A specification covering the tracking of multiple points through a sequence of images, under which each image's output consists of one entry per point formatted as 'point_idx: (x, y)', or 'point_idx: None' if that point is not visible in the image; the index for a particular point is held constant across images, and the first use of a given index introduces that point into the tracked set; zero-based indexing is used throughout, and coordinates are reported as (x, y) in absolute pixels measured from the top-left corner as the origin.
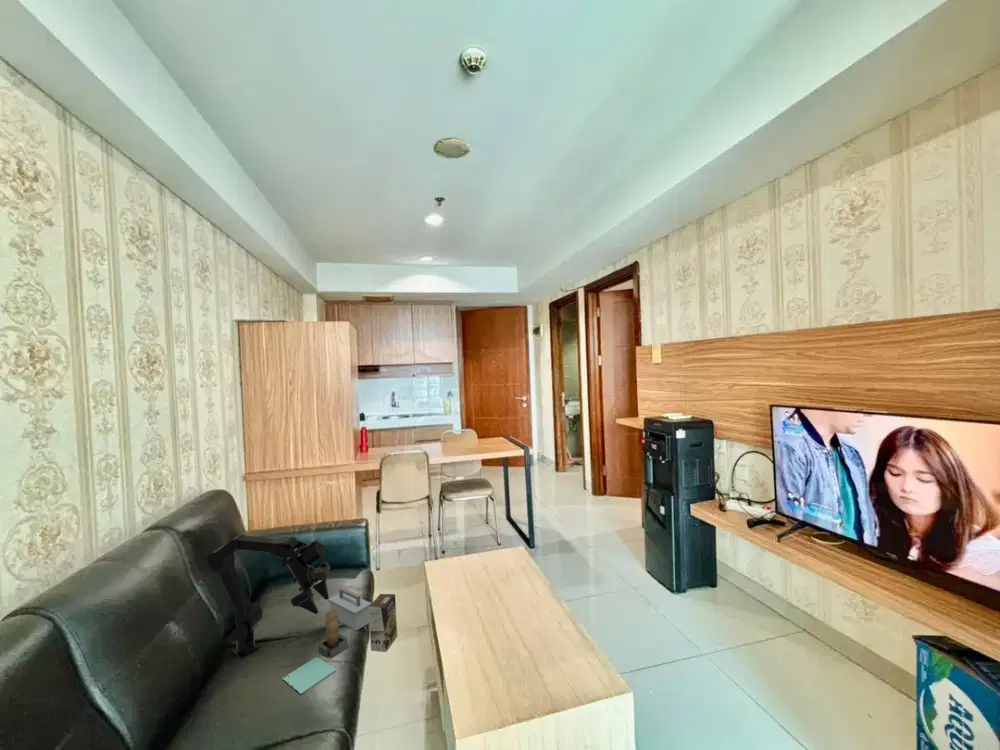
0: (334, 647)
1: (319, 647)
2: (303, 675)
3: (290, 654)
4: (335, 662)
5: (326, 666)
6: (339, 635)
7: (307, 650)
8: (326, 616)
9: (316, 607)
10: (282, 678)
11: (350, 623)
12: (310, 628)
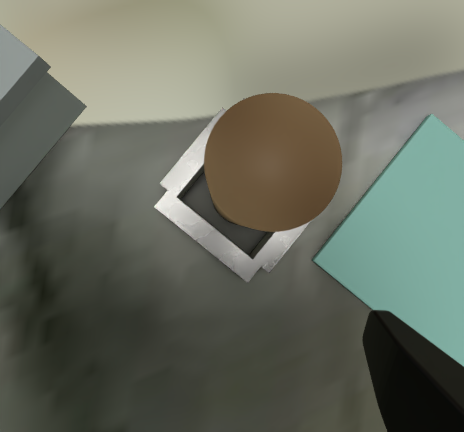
0: None
1: (274, 263)
2: (452, 273)
3: (258, 427)
4: (358, 142)
5: (399, 174)
6: (183, 169)
7: (236, 342)
8: (328, 202)
9: (417, 359)
10: None
11: (35, 147)
12: (17, 416)
